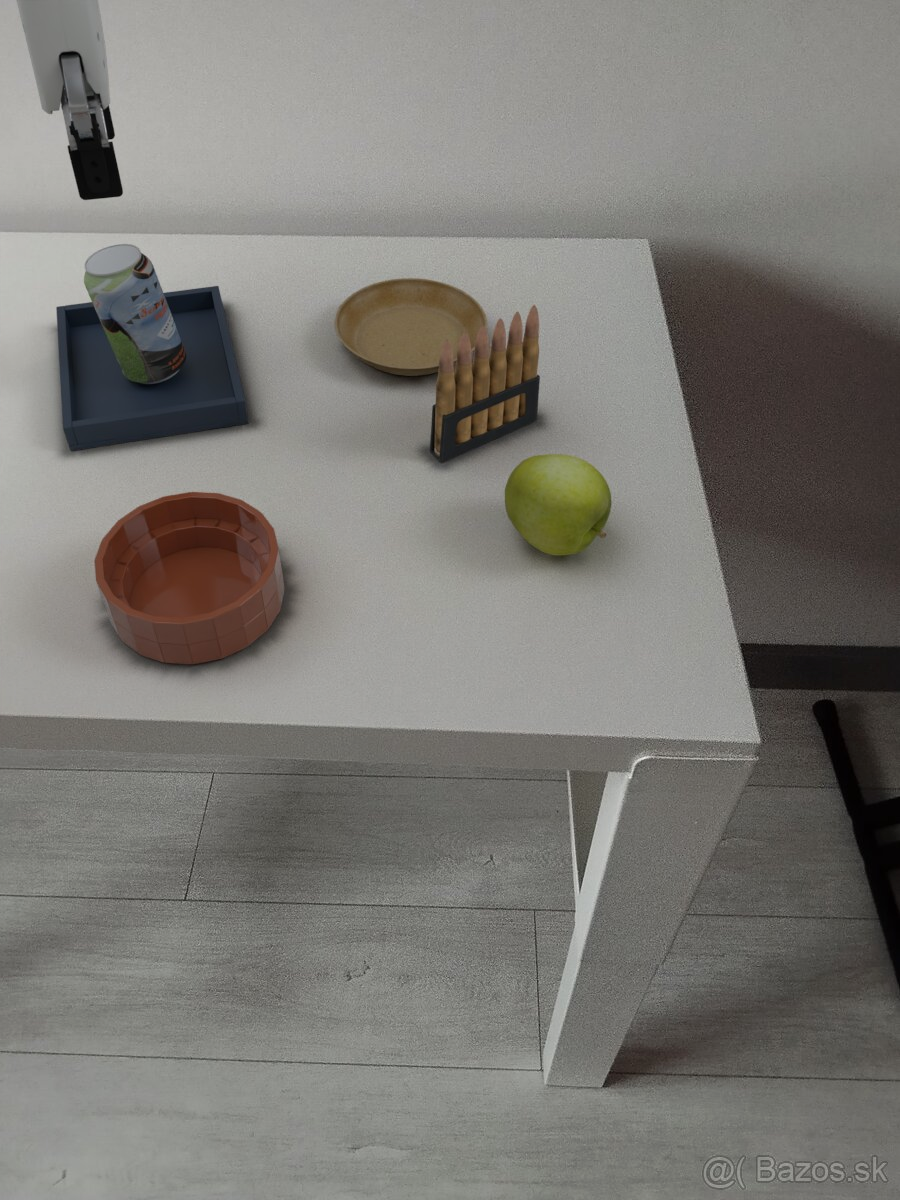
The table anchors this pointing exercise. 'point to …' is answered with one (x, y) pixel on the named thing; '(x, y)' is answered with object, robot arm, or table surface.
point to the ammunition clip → (486, 388)
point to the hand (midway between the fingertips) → (98, 166)
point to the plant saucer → (407, 324)
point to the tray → (143, 411)
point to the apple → (558, 503)
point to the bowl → (190, 577)
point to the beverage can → (134, 313)
